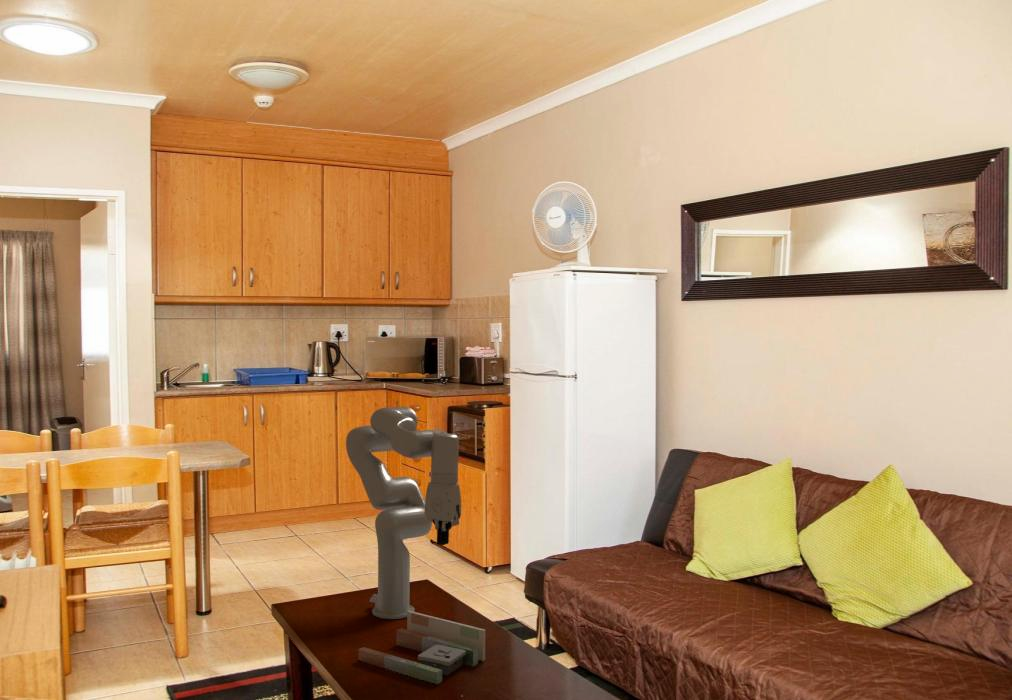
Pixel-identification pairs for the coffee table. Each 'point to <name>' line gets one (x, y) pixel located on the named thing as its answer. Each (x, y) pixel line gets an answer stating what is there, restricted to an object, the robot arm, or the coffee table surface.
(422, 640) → the far rail
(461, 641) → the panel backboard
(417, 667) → the near rail
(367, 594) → the coffee table surface
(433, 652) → the electrical switch
